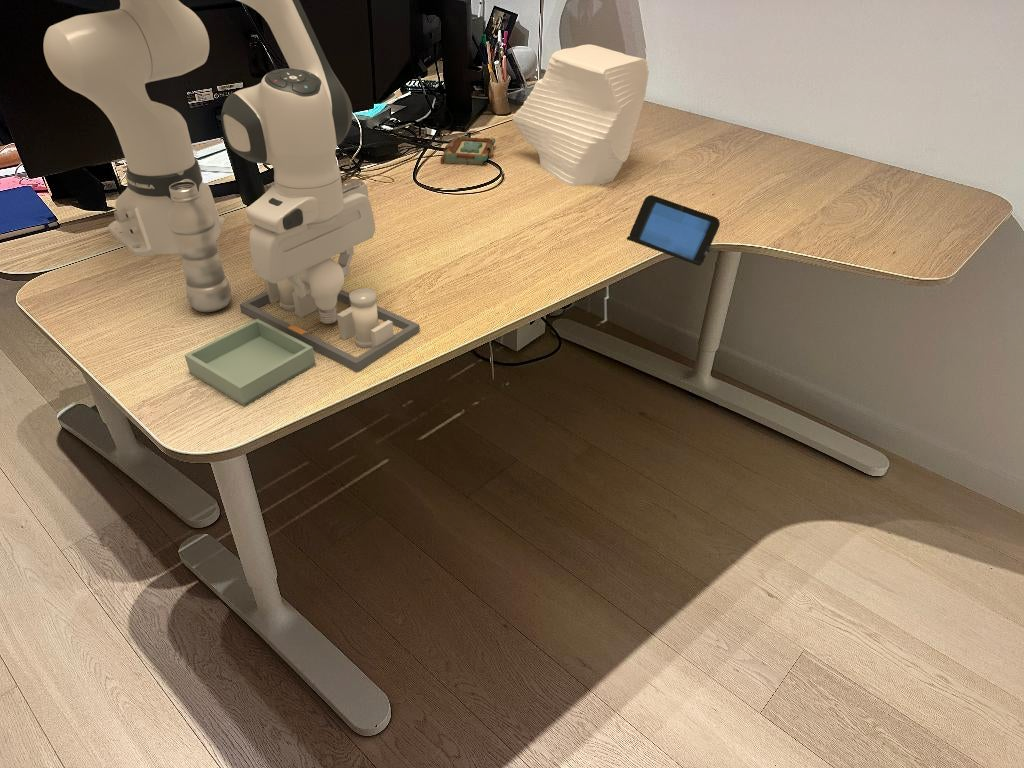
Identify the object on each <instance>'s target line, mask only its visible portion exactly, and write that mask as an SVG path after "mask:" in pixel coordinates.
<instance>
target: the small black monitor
mask: <svg viewBox="0 0 1024 768" xmlns="http://www.w3.org/2000/svg"><path fill="white" fill-rule="evenodd" d="M719 228H720V220H719V219H718V217H717V216H713V215H711V214H708V213H705V212H703V211H699V210H696V209H694V208H692V207H691V208H690V207H688V206H685V205H682V204H679V203H676V202H674V201H672V200H668V199H665V198H661V197H659V196H655V195H652V194H651V195H650V194H649V195H648V196H646V197H645V198H644V200H643V202H642V204H641V207H640V209H639V212H638V214H637V216H636V219H635V221H634V222H633V225H632V228H631V230H630V232H629V235H628V236H627V238H626V240H627V241H631V242H633V243H635V244H639V245H641V246H644V247H646V248H650V249H652V250H655V251H658V252H660V253H663V254H665V255H669V256H671V257H673V258H676V259H679V260H682V261H685V262H688V263H690V264H693V265H696V266H699V267H701V266H702V264H703V263H704V260H705V258H706V256H707V255H708V252H709V250H710V247H711V246H712V243H713V241H714V238H715V237H716V235H717V233H718V230H719Z"/></svg>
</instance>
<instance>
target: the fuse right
mask: <svg viewBox="0 0 1024 768" xmlns="http://www.w3.org/2000/svg"><path fill="white" fill-rule="evenodd" d="M349 298H350V303H351V306H350V307H351V308H352V316H353V324H354V332H355V335H353V336H354V343H355V345H356V346H357V348H360V349H371V348H373V347H372V338H371V330H372V329H374V328H375V327H377V326H379V325H380V324H379V318H378V314H377V306H378V304H377V300H378V299H377V298H378V297H377V292H376V291H375V290H374V289H372V288H368V287H365V288H364V287H362V288H361V287H360V288H356V289H354V290H352V291H351V292H350V294H349Z"/></svg>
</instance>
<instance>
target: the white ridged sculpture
mask: <svg viewBox="0 0 1024 768" xmlns="http://www.w3.org/2000/svg"><path fill="white" fill-rule="evenodd" d="M546 67H547V69H546V70H545V72H544V75H543V77H542V78H541V79H538V80H536V82H535V84H534V86H533V89H532V91H530V93H529V95H527V97H526V100H525V101H524V102H523V105H521V107H519V109H517V110H516V112H515V113H514V114H513V115H512V118H511V119H512V122H513V123H514V125H515V126H516V129H517V130H518V131H519V132H520V135H521V137H523V138H524V140H525V142H526V143H527V144H530V145H531V146H533V147H534V149H535V150H536V152H537V153H538V157H539V165H540V167H541V169H543V170H544V171H545V172H547V173H549V174H550V175H551V176H553V177H555V179H557V180H559V181H561V183H563V184H565V185H567V186H570V187H576V186H577V187H578V186H580V187H581V186H587V185H593V186H596V185H599V186H601V185H600V184H602V185H604V183H605V184H607V183H606V182H608V183H611V182H613V181H614V179H616V177H617V175H618V173H619V172H620V170H621V168H622V166H623V163H625V162H626V161H627V160H628V159H629V158H628V157H629V155H630V152H631V149H632V143H633V137H634V135H635V134H634V133H635V131H637V125H638V124H639V118H640V117H641V111H642V110H643V104H644V102H645V97H646V93H647V85H648V79H649V65H648V61H647V60H646V59H645V58H641V57H638V56H633V55H629V54H625V53H623V52H621V51H616V50H614V49H613V50H612V49H609V48H607V47H606V48H605V47H604V46H603V47H602V46H599V45H595V44H590V43H589V44H581V45H578V46H575V47H568V48H562V49H560V50H557V51H554V52H553V53H552V54H551V57H550V58H549V60H548V64H547V66H546ZM610 181H611V182H610Z"/></svg>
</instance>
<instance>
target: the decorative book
mask: <svg viewBox="0 0 1024 768" xmlns="http://www.w3.org/2000/svg"><path fill="white" fill-rule="evenodd" d="M495 144H496V138H494V137H484V138H480V137H469V136H464V135H463V136H462V135H460V134H458V135H456V136H455V137H454V138H452V139H451V141H450V142H448V144H446V145H445V147H444V148H443V153H442V155H441V158H440V165H444V164H458V165H459V164H461V165H466V166H468V165H479V166H480V165H483V163H484V162H486V161H487V160H488V158H489V160H492V159H493V155H494V145H495Z"/></svg>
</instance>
